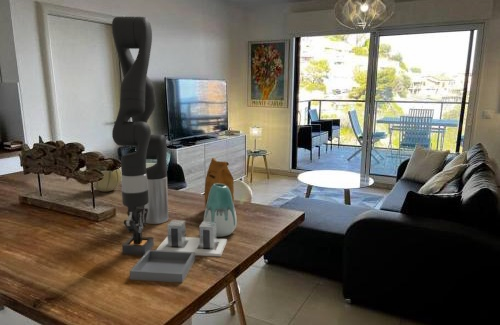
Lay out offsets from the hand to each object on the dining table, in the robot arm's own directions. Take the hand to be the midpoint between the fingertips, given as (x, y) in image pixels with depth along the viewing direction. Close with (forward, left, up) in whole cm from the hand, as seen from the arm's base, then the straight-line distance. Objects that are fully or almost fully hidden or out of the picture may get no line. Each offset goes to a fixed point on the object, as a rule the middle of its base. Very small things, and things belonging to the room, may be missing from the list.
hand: (138, 243), depth 113 cm
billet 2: (+21, +4, -4) cm, 22 cm away
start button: (0, 0, -2) cm, 2 cm away
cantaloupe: (-44, +66, -4) cm, 80 cm away
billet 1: (+11, +4, -4) cm, 12 cm away
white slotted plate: (+16, +4, -4) cm, 17 cm away
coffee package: (+17, +42, -4) cm, 46 cm away
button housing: (0, 0, -3) cm, 3 cm away
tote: (+12, -11, -3) cm, 17 cm away
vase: (+22, +19, -4) cm, 29 cm away
